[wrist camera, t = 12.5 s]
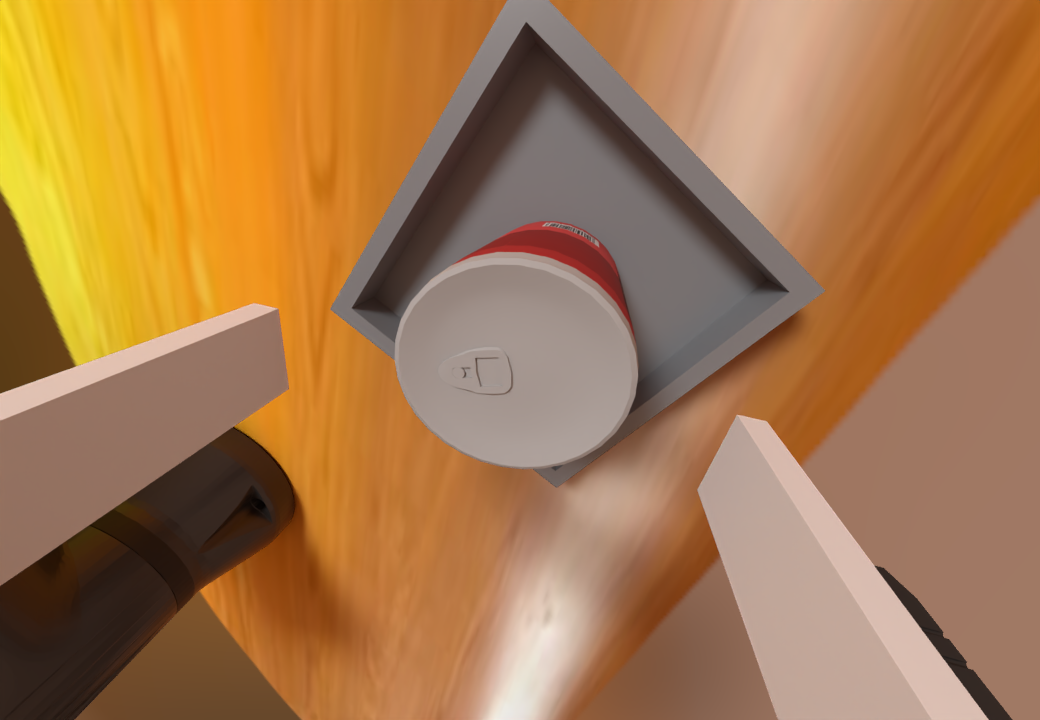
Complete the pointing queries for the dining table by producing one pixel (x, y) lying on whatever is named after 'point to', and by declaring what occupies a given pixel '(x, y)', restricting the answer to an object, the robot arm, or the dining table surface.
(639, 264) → the tray
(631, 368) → the canned food
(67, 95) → the dining table surface
